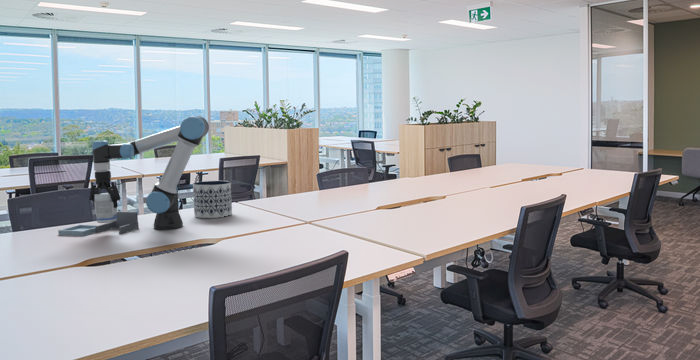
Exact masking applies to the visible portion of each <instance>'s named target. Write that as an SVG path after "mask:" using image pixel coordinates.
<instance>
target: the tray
mask: <svg viewBox="0 0 700 360" xmlns="http://www.w3.org/2000/svg"><path fill="white" fill-rule="evenodd" d="M98 225H99V224H97V225H96V224H95V225H94V224H77V225H72V226H70V227H69V226H68V227H65V228H61V229H59V230H57V231H58V235H59V236H69V235H72V236H74V237H85V236H88V234H89V235H92V234H95V233H96V226H98Z"/></svg>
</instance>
